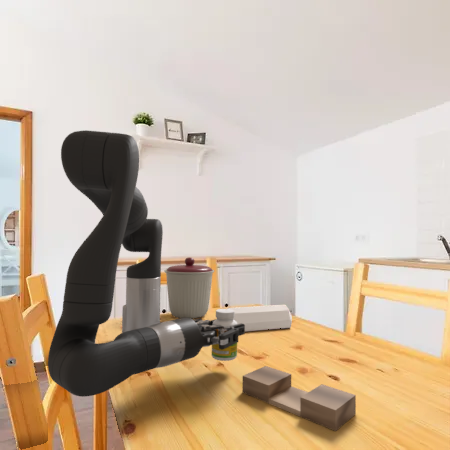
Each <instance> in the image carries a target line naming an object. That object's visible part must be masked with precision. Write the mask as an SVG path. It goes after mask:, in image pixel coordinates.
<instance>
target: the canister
mask: <svg viewBox="0 0 450 450" xmlns="http://www.w3.org/2000/svg"><path fill="white" fill-rule="evenodd" d="M195 261H196V260H195V259H194V258H193V257H186V258H185V260H184V263H185V264H179V265H178V264H177V265H172V266H169V267H167V269H165V270H164V273H165V275H166V285H167V286H166V288H167V296H168V307H169V311H170V314H171V315H172V316H173V317H175V318H177V319H180V318H186V317H187V318H191V319H192V320H193V319H200V318H202V317H204V316H206V315H207V313H208V310H209V307H210V298H211V290H212V282H213V273H215V270H214V269H212V267H210V266H207V265H200V264H195Z"/></svg>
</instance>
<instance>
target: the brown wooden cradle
mask: <svg viewBox="0 0 450 450" xmlns="http://www.w3.org/2000/svg"><path fill="white" fill-rule="evenodd" d="M241 382H242V385H241V387H242V388H241V389H242V394H245V395H247V396H250V397H252V398H255V399H257V400H260V401H262V402H264V403H267V404H270V405H272V406H274V407H276V408H279V409H281V410H283V411H286V412H288V413H291V414H294V415H296V416H298V417H300V418H303V419H306V420H308V421H310V422H312V423H315V424H317V425H319V426H322V427H325V428H327V429H330V430H332V431H334V432H337V431H338V430H339V429H340V428H341V427H343V425H345V424H346V423H348V421H349V420H350V419H352V418H353V417H354V416H355V415H356V414H357V412H356V410H357V409H356V407H357V406H356V403H357V402H356V394H353V393H351V392H348V391H344V390H341V389H338V388H335V387H331V386H329V385H325V384H320V385H318V386H317V387H315V388H313V389H312V390H310V391H306V390H303V389H300V388H297V387H294V386H292V373H290V372H286V371H282V370H280V369H276V368H273V367H270V366H267V365H265V366H262V367H260V368H257V369H255V370H253V371H251V372H248V373H246V374H244V375H242V381H241Z"/></svg>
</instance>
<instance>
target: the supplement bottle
mask: <svg viewBox="0 0 450 450" xmlns="http://www.w3.org/2000/svg"><path fill="white" fill-rule="evenodd" d="M234 316H235V311H234V310H231V309H227V308H217V309H216V310H215V319H216V320H215V319H214V320H215V321H214V322H213V324H212V325H222V326H223V327H227V326H233V325H237V322H236V321H235V320H233V318H234ZM216 331H217V337H218V329H216ZM224 332H227V331H224ZM237 355H238V342H237V343H235V344H233V345H231V346H229V347H227V348H225V349H219V344H214V345H211V357H212V358H213V359H214V360H216V361H219V362H220V361H221V362H227V361H228V362H229V361H233V360H235V359H236V358H237V357H238V356H237Z"/></svg>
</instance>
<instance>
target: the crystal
mask: <svg viewBox="0 0 450 450" xmlns="http://www.w3.org/2000/svg"><path fill="white" fill-rule="evenodd" d="M226 309H231V310H234V311H235V316H234V318H233V320H235V321H236V322H237V324H241V323H242V324H244V325H245V332H254V331H257V332H258V331H265V330H268V329H269V330H281V329H290V328H292V323H293V316H292V313H291V312H290V308H289V307H288V306H287V305H286V304H274V305H273V304H271V305H269V304H268V305H255V306H253V305H252V306H238V307H236V306H235V307H227V308H226ZM280 328H281V329H280Z"/></svg>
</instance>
